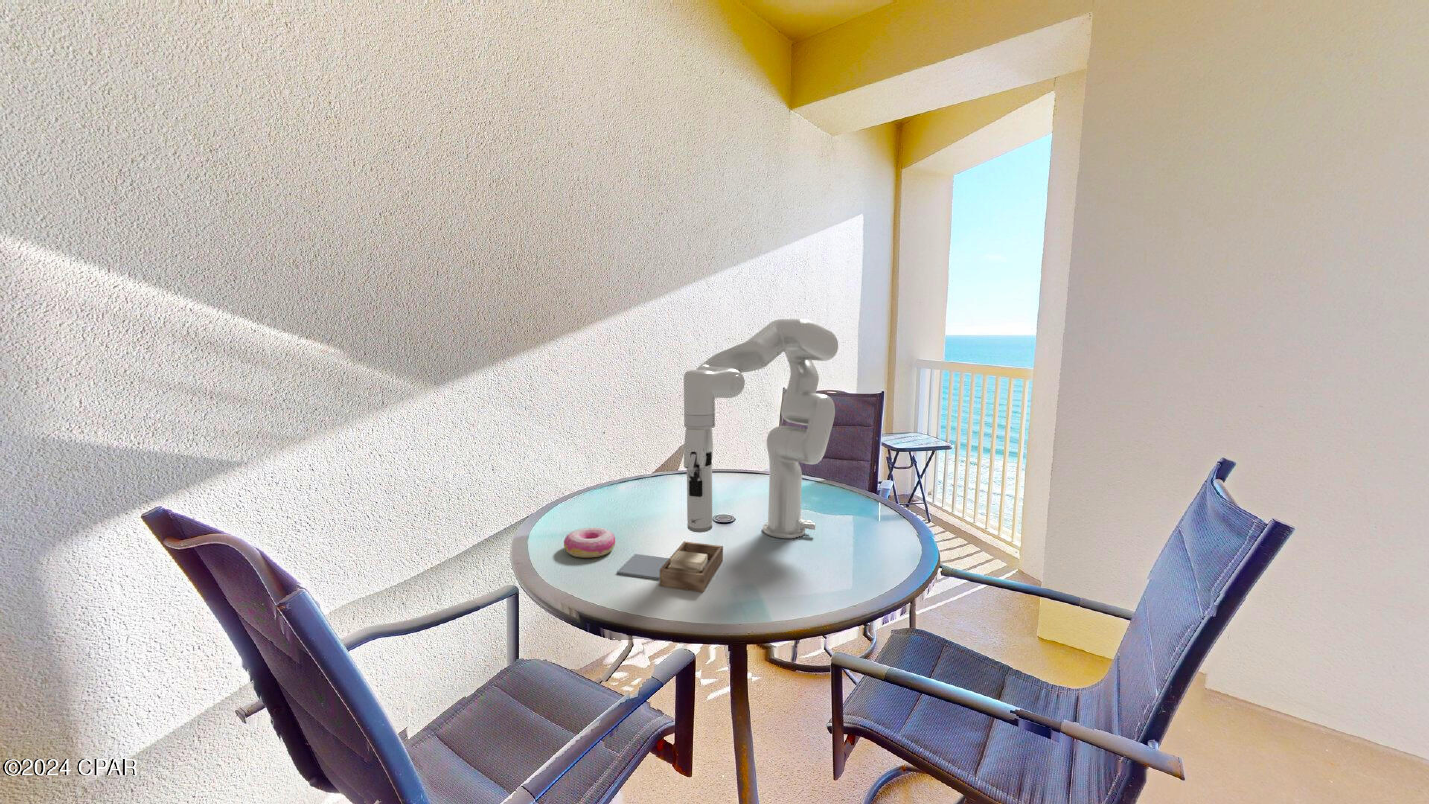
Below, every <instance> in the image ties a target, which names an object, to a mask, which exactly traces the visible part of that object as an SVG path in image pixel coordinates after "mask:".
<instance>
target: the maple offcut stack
mask: <svg viewBox="0 0 1429 804" xmlns="http://www.w3.org/2000/svg"><path fill="white" fill-rule="evenodd" d="M673 554H674V553H673ZM673 554H672V555H673ZM672 555H671V556H672ZM707 558H708V554H701V553H693V552H684V551H677V552H676V553H675V554H674V555H673V556H672V558H671V559H670V565H669V566H668V569H671V570H678V571H686V572H693V573H702V572H703V570H704V569H705V567H706V566H707V564H708V560H707Z"/></svg>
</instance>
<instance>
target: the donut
mask: <svg viewBox="0 0 1429 804" xmlns="http://www.w3.org/2000/svg"><path fill="white" fill-rule="evenodd" d="M615 545H616V537H615V535H614V533H613V532H611V531H610V530H609V529H607V528H603V527H584V528H580V529H576V530H573V531H571V532H569V533H568V534H567V535H566V536H565V537H564V541H563V547H564V549H565V551H566V553H568V554H569V555H571V556H573V557H576V558H582V559H583V558H584V559H585V558H586V559H588V558H590V559H591V558H598V557H603V556H605V555H607V554H609V553H610V552H611V551H612V550H613V549H614V548H615Z"/></svg>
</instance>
